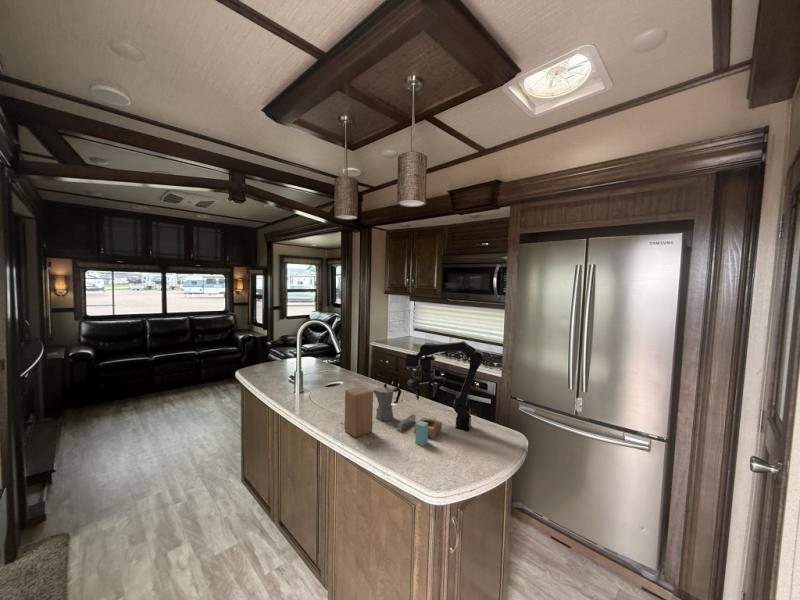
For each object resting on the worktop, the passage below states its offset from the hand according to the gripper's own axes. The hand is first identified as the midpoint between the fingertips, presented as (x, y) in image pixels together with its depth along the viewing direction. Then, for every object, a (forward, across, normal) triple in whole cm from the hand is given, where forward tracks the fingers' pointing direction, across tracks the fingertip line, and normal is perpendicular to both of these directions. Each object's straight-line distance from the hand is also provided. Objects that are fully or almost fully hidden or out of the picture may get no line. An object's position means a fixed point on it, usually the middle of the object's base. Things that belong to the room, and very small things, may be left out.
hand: (425, 398), depth 162 cm
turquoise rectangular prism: (+12, +12, +19) cm, 26 cm away
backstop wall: (+12, +11, +1) cm, 17 cm away
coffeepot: (+12, +17, -12) cm, 24 cm away
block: (+12, +35, -2) cm, 37 cm away
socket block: (+12, +4, +10) cm, 17 cm away
